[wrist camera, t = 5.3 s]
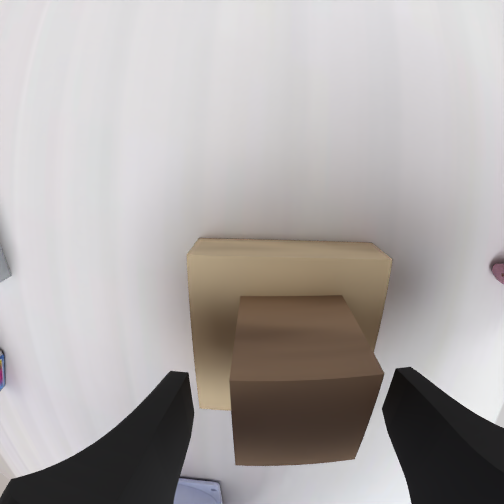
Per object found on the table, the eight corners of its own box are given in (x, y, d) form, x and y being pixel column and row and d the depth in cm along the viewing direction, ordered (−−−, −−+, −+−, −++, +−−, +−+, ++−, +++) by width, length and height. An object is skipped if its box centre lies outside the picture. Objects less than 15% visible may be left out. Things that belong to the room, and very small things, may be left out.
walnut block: (330, 373, 13) (354, 459, 8) (242, 375, 13) (235, 465, 8) (341, 295, 12) (384, 374, 7) (240, 295, 12) (229, 380, 7)
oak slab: (345, 372, 17) (357, 407, 14) (207, 372, 17) (199, 408, 14) (368, 240, 14) (392, 259, 11) (200, 235, 14) (186, 254, 11)
